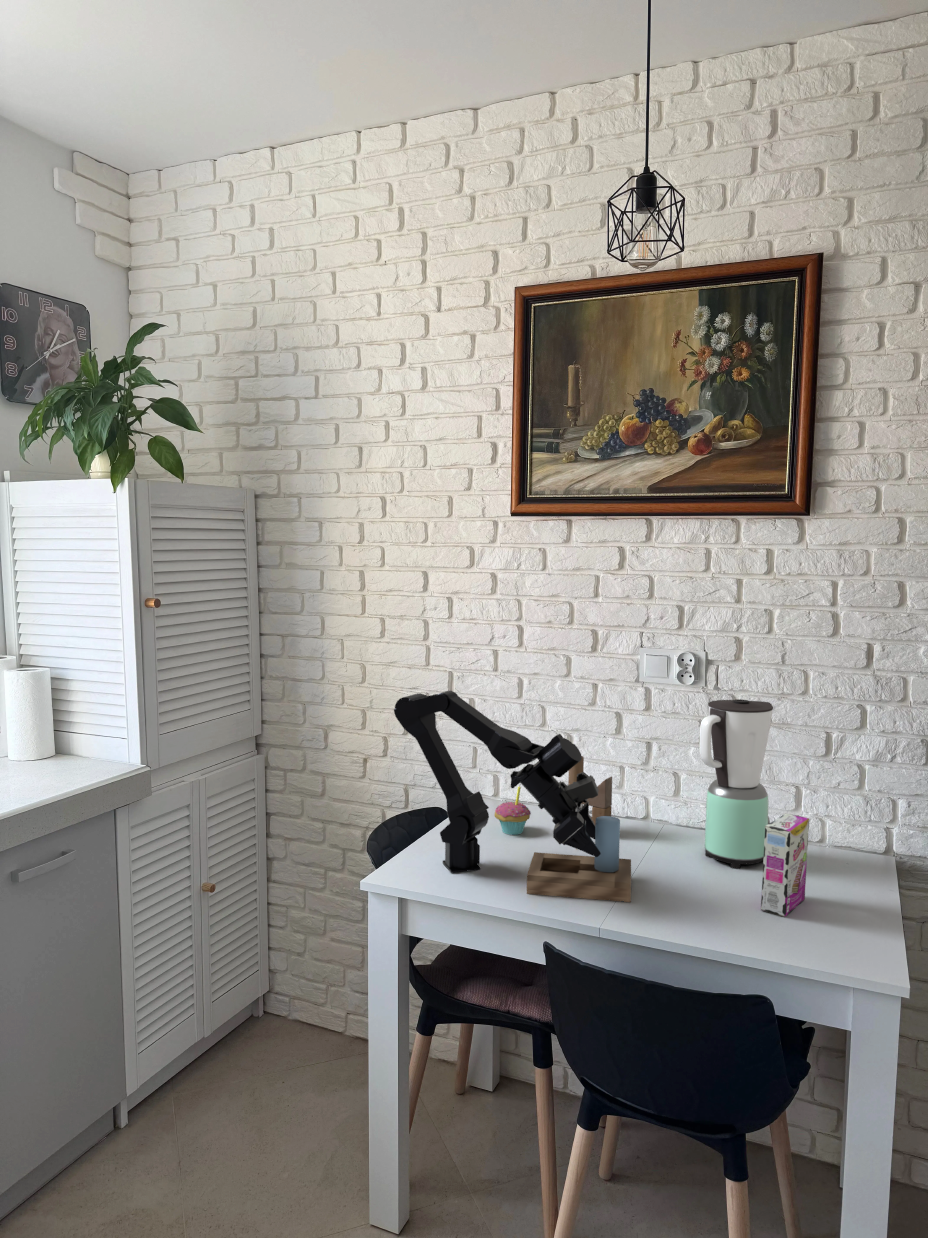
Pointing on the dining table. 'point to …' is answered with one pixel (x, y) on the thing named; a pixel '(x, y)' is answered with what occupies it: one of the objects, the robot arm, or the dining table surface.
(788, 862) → the candy bar box
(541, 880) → the keyhole board
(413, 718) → the robot arm
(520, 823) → the cupcake
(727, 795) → the mint green blender
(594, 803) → the wooden block
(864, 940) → the dining table surface
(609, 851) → the keyhole stud
